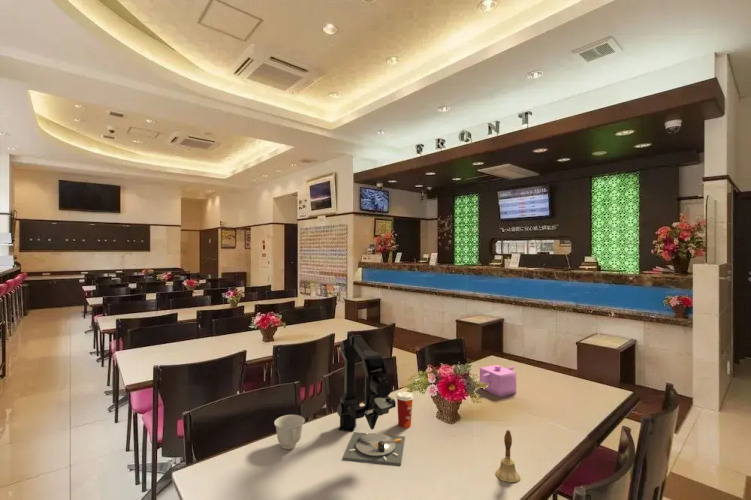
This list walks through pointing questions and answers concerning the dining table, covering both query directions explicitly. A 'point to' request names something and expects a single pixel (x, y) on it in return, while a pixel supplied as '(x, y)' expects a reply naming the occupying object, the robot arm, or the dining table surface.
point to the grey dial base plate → (391, 458)
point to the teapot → (499, 380)
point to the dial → (375, 445)
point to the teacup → (289, 430)
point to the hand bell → (507, 463)
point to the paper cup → (404, 409)
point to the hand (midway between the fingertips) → (372, 429)
